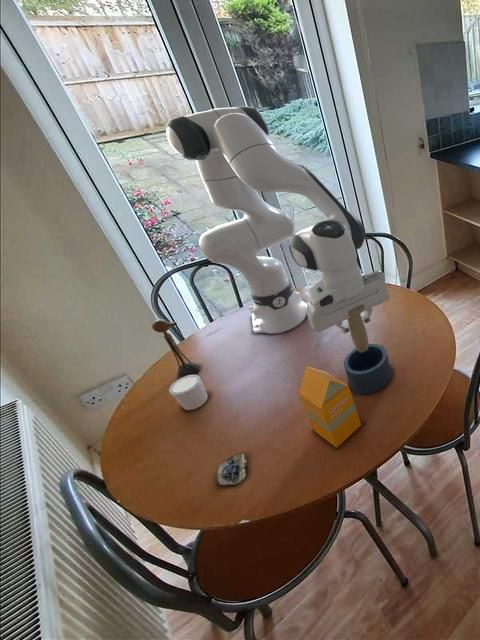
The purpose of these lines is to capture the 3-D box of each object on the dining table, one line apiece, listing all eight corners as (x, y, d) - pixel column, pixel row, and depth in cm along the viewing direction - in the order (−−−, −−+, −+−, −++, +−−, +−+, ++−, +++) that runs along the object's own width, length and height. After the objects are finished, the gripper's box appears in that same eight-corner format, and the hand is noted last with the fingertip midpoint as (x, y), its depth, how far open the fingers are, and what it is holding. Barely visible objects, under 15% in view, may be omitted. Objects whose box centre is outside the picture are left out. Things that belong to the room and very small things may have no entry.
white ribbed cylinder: (216, 395, 112) (206, 377, 108) (192, 415, 106) (180, 397, 103) (198, 388, 114) (188, 371, 110) (174, 408, 108) (162, 390, 105)
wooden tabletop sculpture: (205, 364, 122) (175, 313, 112) (199, 375, 118) (168, 323, 108) (183, 368, 121) (151, 316, 110) (176, 379, 117) (142, 327, 106)
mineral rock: (243, 450, 97) (240, 445, 96) (257, 470, 93) (254, 465, 92) (212, 471, 93) (208, 466, 92) (224, 493, 88) (221, 488, 87)
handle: (372, 354, 108) (361, 311, 101) (348, 356, 108) (335, 312, 100) (376, 342, 112) (366, 299, 105) (353, 343, 112) (341, 300, 105)
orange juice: (336, 448, 97) (314, 392, 87) (314, 431, 101) (290, 376, 91) (362, 424, 103) (344, 369, 93) (340, 409, 107) (320, 355, 97)
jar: (343, 377, 116) (336, 357, 112) (379, 357, 123) (375, 338, 119) (361, 401, 109) (354, 381, 105) (398, 378, 116) (394, 358, 112)
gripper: (377, 263, 107) (386, 304, 114) (298, 295, 95) (313, 338, 102) (388, 272, 103) (397, 314, 110) (307, 307, 91) (323, 351, 98)
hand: (356, 326), depth 106 cm, fingers closed on handle, 4 cm apart
